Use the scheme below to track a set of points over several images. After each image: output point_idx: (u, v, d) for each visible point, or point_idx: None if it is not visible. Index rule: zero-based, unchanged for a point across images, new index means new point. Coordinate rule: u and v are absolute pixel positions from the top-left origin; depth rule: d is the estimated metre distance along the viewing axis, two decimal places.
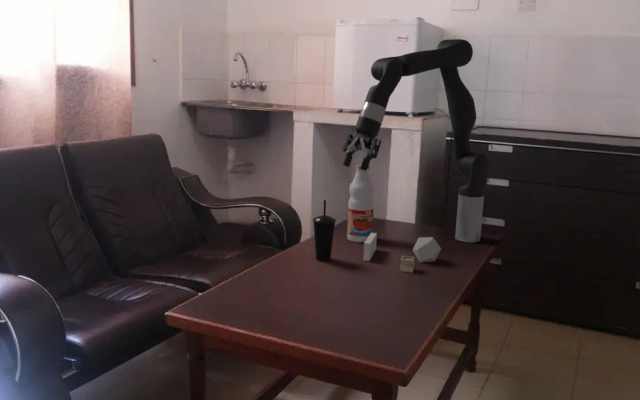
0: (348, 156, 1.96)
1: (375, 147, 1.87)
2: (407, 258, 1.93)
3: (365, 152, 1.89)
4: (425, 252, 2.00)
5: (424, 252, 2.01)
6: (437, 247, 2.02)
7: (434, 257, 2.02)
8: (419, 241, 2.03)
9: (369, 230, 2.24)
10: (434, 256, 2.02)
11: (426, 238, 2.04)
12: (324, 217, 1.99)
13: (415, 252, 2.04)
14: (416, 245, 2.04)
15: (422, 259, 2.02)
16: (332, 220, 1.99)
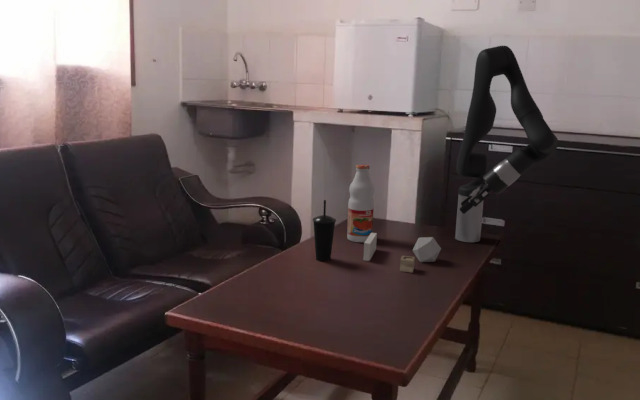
0: None
1: None
2: (407, 259, 1.93)
3: None
4: (425, 252, 2.00)
5: (424, 252, 2.01)
6: (437, 247, 2.02)
7: (434, 257, 2.02)
8: (419, 241, 2.03)
9: (369, 230, 2.24)
10: (434, 256, 2.02)
11: (426, 238, 2.04)
12: (324, 217, 1.99)
13: (415, 252, 2.04)
14: (416, 245, 2.04)
15: (422, 259, 2.02)
16: (332, 220, 1.99)
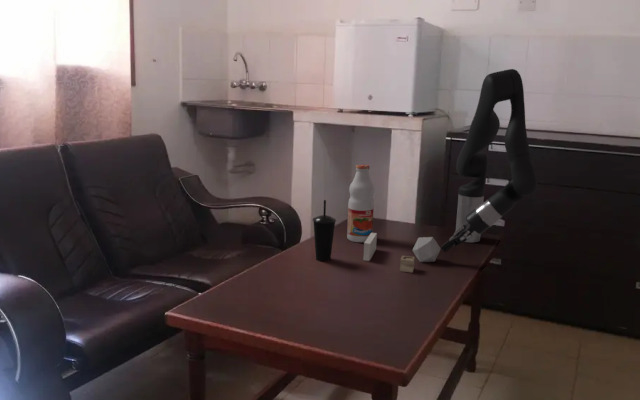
0: None
1: None
2: (407, 258, 1.93)
3: None
4: (425, 252, 2.00)
5: (424, 252, 2.01)
6: (437, 247, 2.02)
7: (434, 257, 2.02)
8: (419, 241, 2.03)
9: (369, 230, 2.24)
10: (434, 256, 2.02)
11: (426, 238, 2.04)
12: (324, 217, 1.99)
13: (415, 252, 2.04)
14: (416, 245, 2.04)
15: (422, 259, 2.02)
16: (332, 220, 1.99)
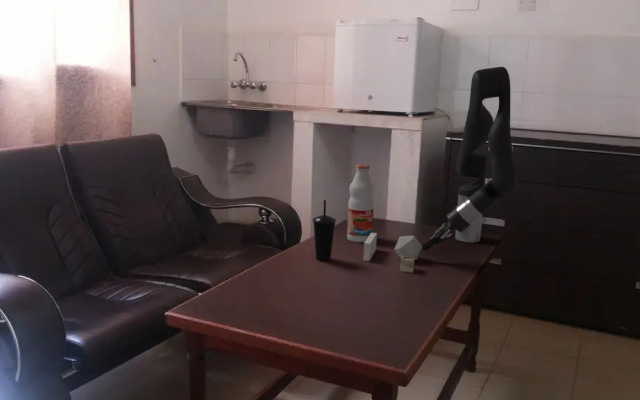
0: None
1: None
2: (407, 258, 1.93)
3: None
4: (407, 251, 2.01)
5: (406, 251, 2.01)
6: (419, 245, 2.03)
7: (416, 255, 2.03)
8: (401, 240, 2.04)
9: (369, 230, 2.24)
10: (416, 254, 2.03)
11: (407, 237, 2.04)
12: (324, 217, 1.99)
13: (397, 251, 2.04)
14: (398, 244, 2.04)
15: None
16: (332, 220, 1.99)
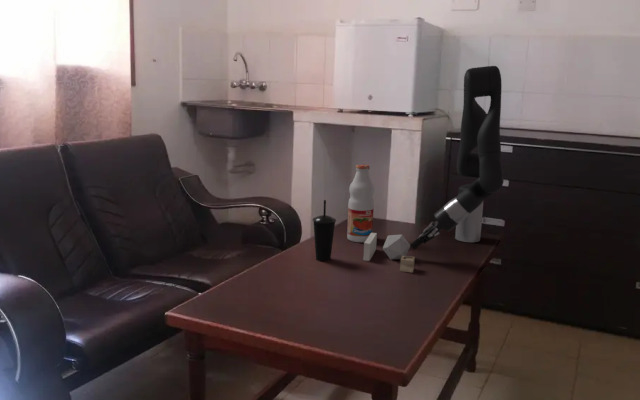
0: None
1: None
2: (407, 259, 1.93)
3: None
4: (395, 250, 2.02)
5: (394, 249, 2.02)
6: (406, 244, 2.04)
7: (404, 254, 2.04)
8: (388, 239, 2.05)
9: (369, 230, 2.24)
10: (404, 253, 2.04)
11: (395, 235, 2.05)
12: (324, 217, 1.99)
13: (385, 250, 2.06)
14: (386, 243, 2.05)
15: (392, 256, 2.04)
16: (332, 220, 1.99)
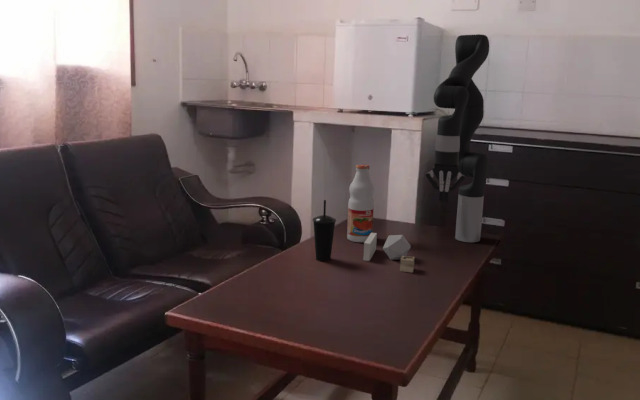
0: None
1: (459, 183, 1.96)
2: (407, 259, 1.93)
3: (447, 186, 1.96)
4: (395, 250, 2.02)
5: (394, 250, 2.02)
6: (407, 245, 2.04)
7: (404, 254, 2.04)
8: (389, 239, 2.05)
9: (369, 230, 2.24)
10: (404, 253, 2.04)
11: (396, 236, 2.05)
12: (324, 217, 1.99)
13: (385, 250, 2.05)
14: (386, 243, 2.05)
15: (392, 257, 2.04)
16: (332, 220, 1.99)
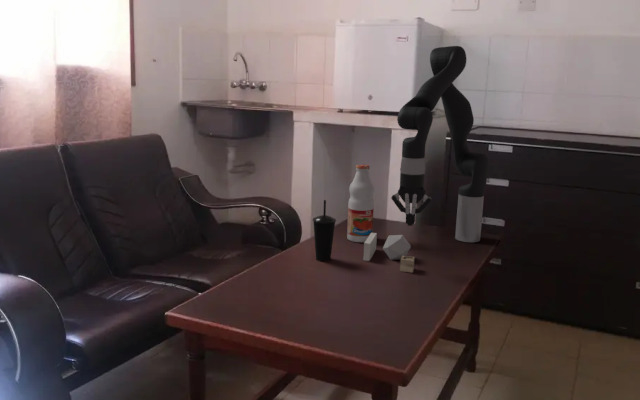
0: None
1: (425, 206, 1.92)
2: (407, 259, 1.93)
3: (413, 209, 1.92)
4: (395, 250, 2.02)
5: (394, 250, 2.02)
6: (407, 245, 2.04)
7: (404, 254, 2.04)
8: (389, 239, 2.05)
9: (369, 230, 2.24)
10: (404, 253, 2.04)
11: (396, 236, 2.05)
12: (324, 217, 1.99)
13: (385, 250, 2.05)
14: (386, 243, 2.05)
15: (392, 257, 2.04)
16: (332, 220, 1.99)
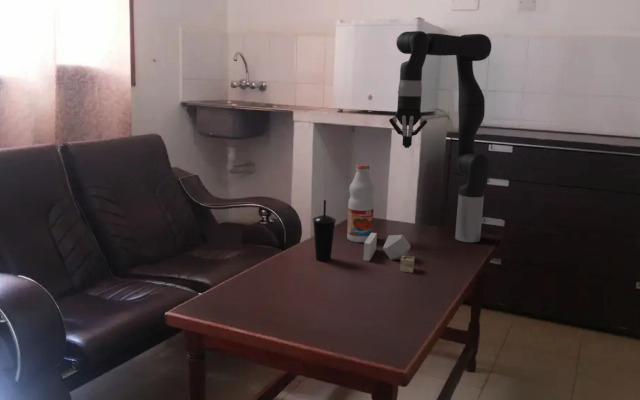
0: None
1: (421, 128, 2.00)
2: (407, 259, 1.93)
3: (410, 131, 2.01)
4: (395, 250, 2.02)
5: (394, 250, 2.02)
6: (407, 244, 2.04)
7: (404, 254, 2.04)
8: (389, 239, 2.05)
9: (369, 230, 2.24)
10: (404, 253, 2.04)
11: (396, 236, 2.05)
12: (324, 217, 1.99)
13: (385, 250, 2.05)
14: (386, 243, 2.05)
15: (392, 257, 2.04)
16: (332, 220, 1.99)
